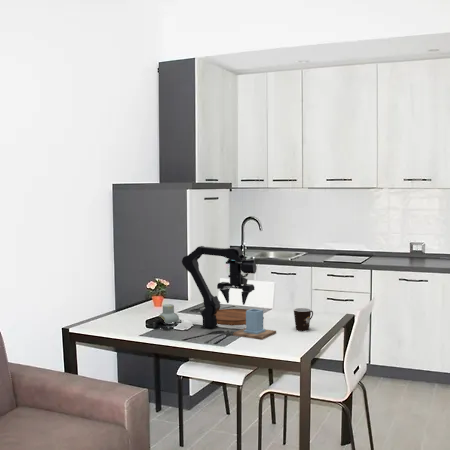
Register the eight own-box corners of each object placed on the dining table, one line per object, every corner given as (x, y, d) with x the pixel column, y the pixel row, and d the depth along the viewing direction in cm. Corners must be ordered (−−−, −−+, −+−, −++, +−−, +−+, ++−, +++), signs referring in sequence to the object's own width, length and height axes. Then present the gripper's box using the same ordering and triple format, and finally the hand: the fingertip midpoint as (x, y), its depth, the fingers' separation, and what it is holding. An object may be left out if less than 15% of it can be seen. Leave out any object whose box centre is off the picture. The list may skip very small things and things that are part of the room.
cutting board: (243, 328, 310) (243, 323, 310) (192, 321, 328) (192, 316, 328) (274, 316, 337) (274, 312, 337) (225, 310, 354) (225, 306, 354)
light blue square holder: (243, 332, 296) (243, 310, 295) (252, 329, 302) (252, 308, 301) (256, 334, 291) (256, 312, 291) (265, 331, 298) (265, 309, 297)
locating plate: (233, 335, 295) (233, 326, 295) (247, 329, 307) (247, 321, 307) (262, 339, 287) (262, 330, 286) (276, 333, 298) (276, 324, 298)
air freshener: (156, 323, 323) (156, 304, 322) (169, 320, 328) (169, 302, 327) (167, 327, 314) (167, 307, 314) (180, 324, 319) (180, 305, 319)
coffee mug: (297, 332, 300) (297, 312, 299) (291, 328, 308) (290, 308, 307) (319, 330, 303) (319, 310, 302) (312, 326, 311) (312, 307, 311)
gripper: (259, 271, 307) (260, 302, 308) (228, 269, 317) (228, 299, 318) (248, 274, 298) (248, 306, 299) (216, 272, 308) (216, 303, 309)
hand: (235, 303), depth 306 cm, fingers open, 9 cm apart
